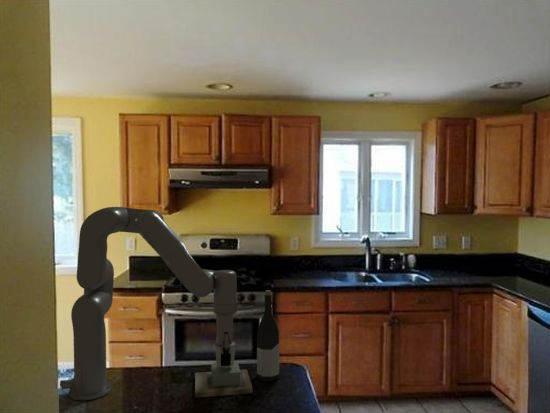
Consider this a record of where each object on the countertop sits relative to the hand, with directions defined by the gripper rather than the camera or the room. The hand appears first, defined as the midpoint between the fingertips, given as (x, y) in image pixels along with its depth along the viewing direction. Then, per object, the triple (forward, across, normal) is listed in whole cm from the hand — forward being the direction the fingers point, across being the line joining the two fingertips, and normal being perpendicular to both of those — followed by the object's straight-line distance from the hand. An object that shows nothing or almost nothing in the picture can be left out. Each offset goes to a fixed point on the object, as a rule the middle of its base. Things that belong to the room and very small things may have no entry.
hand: (225, 361), depth 145 cm
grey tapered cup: (+1, 0, 0) cm, 1 cm away
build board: (+8, 0, -1) cm, 8 cm away
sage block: (+6, 0, 0) cm, 6 cm away
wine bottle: (+8, -4, +15) cm, 18 cm away
